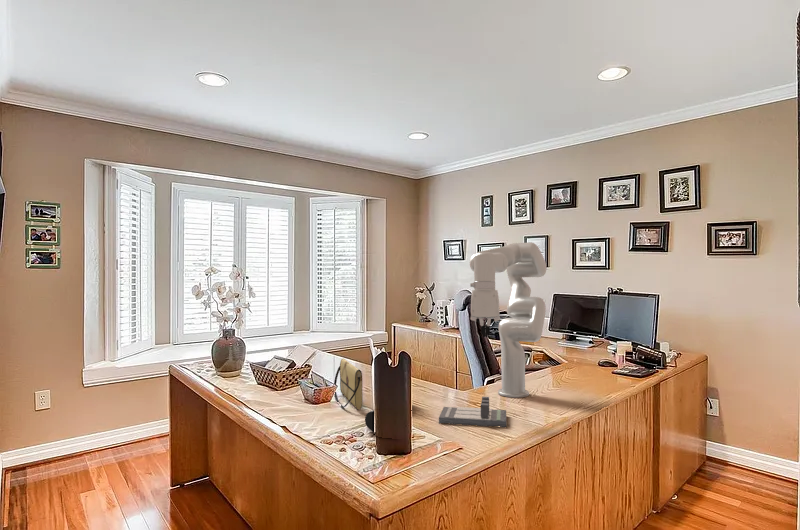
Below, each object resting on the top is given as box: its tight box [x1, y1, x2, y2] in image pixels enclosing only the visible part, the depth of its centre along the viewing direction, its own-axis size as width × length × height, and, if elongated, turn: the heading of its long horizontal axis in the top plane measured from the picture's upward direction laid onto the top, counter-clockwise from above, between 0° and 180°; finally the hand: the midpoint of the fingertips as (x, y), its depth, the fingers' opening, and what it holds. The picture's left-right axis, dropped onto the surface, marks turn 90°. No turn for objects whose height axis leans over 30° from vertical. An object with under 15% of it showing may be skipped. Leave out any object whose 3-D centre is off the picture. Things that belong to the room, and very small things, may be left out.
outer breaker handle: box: [480, 402, 488, 418], centre depth 154 cm, size 2×2×4 cm
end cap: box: [364, 409, 375, 434], centre depth 150 cm, size 10×7×7 cm
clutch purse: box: [333, 358, 363, 411], centre depth 184 cm, size 30×7×15 cm, turn 20°
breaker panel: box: [438, 406, 507, 428], centre depth 159 cm, size 13×22×2 cm, turn 77°
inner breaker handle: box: [481, 396, 490, 401], centre depth 163 cm, size 2×2×4 cm
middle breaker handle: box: [481, 399, 490, 414], centre depth 158 cm, size 2×2×4 cm
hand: (485, 336), depth 169 cm, fingers closed
